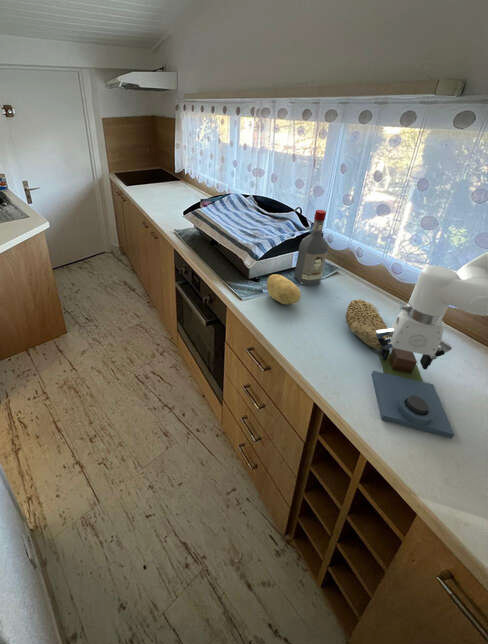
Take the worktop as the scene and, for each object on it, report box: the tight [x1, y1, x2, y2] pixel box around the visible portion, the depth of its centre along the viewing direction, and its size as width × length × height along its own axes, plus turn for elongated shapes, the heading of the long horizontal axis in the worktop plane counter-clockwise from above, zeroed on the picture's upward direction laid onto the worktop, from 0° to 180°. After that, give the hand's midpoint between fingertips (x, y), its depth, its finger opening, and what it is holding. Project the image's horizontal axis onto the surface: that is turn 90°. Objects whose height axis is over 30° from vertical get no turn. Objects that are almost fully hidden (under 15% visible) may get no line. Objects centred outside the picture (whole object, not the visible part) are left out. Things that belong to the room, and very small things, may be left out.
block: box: [389, 347, 418, 374], centre depth 85 cm, size 5×5×5 cm
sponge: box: [345, 298, 390, 350], centre depth 98 cm, size 13×8×20 cm
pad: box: [378, 350, 424, 382], centre depth 86 cm, size 9×9×1 cm
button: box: [406, 396, 428, 415], centre depth 72 cm, size 4×4×2 cm
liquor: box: [293, 209, 329, 287], centre depth 121 cm, size 9×9×30 cm
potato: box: [266, 273, 302, 306], centre depth 113 cm, size 10×14×10 cm
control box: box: [371, 370, 456, 439], centre depth 76 cm, size 14×14×4 cm
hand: (402, 361), depth 85 cm, fingers open, 9 cm apart
